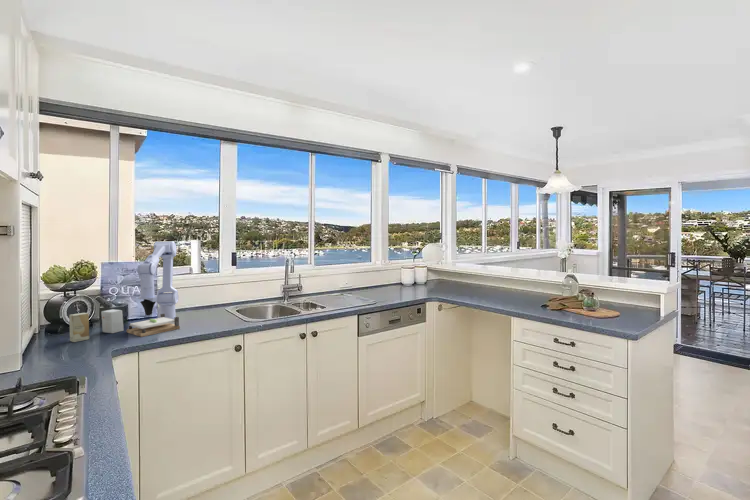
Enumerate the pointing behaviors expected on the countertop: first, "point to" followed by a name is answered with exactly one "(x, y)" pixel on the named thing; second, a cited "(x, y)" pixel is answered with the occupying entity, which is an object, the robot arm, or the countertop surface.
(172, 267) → the robot arm
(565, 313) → the countertop surface
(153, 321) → the levelling plate
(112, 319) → the small box
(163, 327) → the oak base
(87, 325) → the skincare box
